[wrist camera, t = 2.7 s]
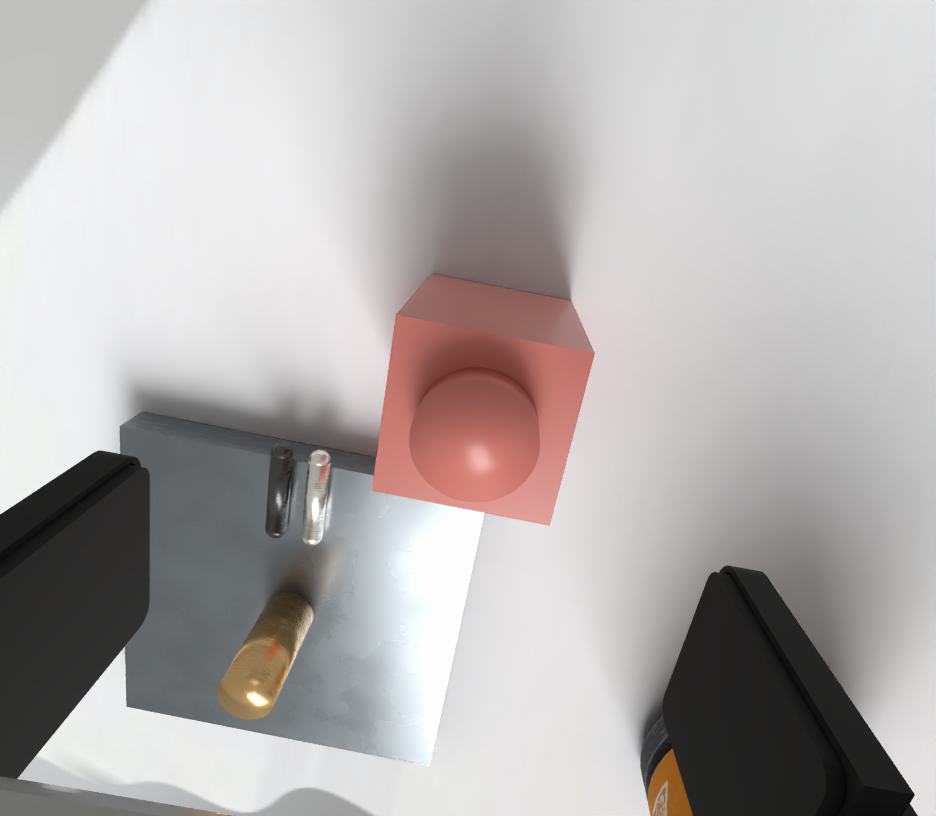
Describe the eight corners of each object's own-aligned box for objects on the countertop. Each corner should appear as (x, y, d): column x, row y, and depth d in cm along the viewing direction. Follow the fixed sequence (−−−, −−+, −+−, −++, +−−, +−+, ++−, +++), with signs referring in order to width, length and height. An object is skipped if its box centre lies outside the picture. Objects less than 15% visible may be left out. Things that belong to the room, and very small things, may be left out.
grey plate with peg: (142, 393, 24) (30, 457, 19) (493, 461, 24) (486, 546, 19) (145, 681, 30) (58, 799, 24) (433, 738, 30) (414, 869, 24)
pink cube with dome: (431, 273, 22) (386, 326, 14) (571, 300, 22) (601, 366, 14) (411, 404, 24) (361, 512, 16) (540, 429, 24) (551, 549, 16)
